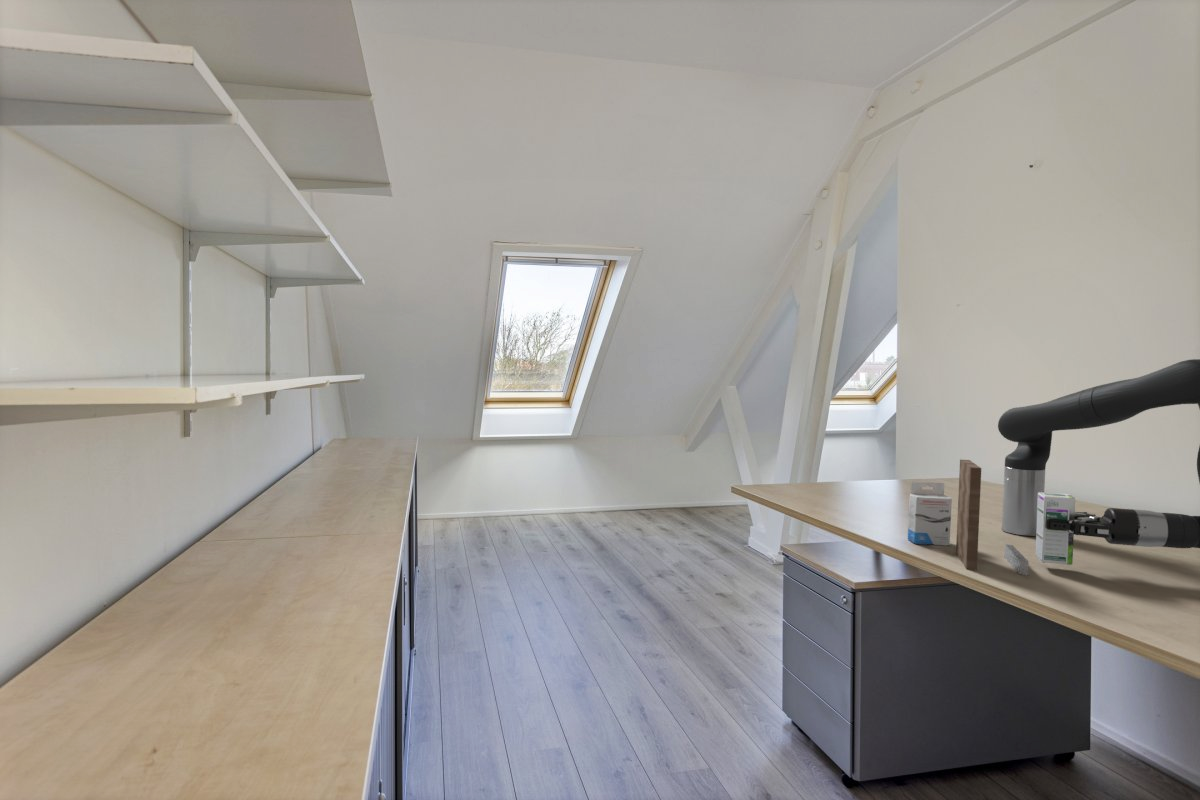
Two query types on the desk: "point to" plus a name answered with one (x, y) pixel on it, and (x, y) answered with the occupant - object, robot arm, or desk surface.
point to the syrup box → (1054, 542)
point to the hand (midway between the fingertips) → (1042, 520)
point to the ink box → (929, 514)
